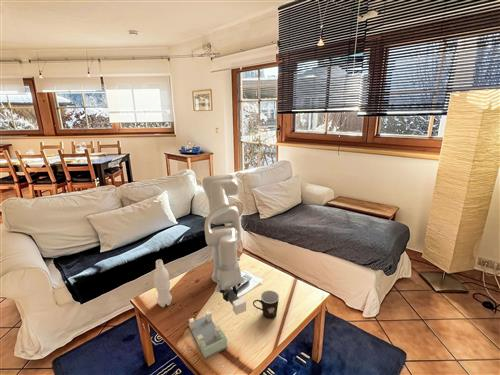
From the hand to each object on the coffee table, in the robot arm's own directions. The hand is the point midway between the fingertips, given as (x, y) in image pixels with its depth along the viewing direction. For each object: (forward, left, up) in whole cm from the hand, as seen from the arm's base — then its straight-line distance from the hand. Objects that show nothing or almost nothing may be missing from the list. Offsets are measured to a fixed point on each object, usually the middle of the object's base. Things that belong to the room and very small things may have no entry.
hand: (230, 297), depth 121 cm
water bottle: (+24, -28, -13) cm, 39 cm away
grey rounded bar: (0, 0, 0) cm, 0 cm away
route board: (+13, +2, -13) cm, 19 cm away
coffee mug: (-16, +5, -13) cm, 22 cm away
